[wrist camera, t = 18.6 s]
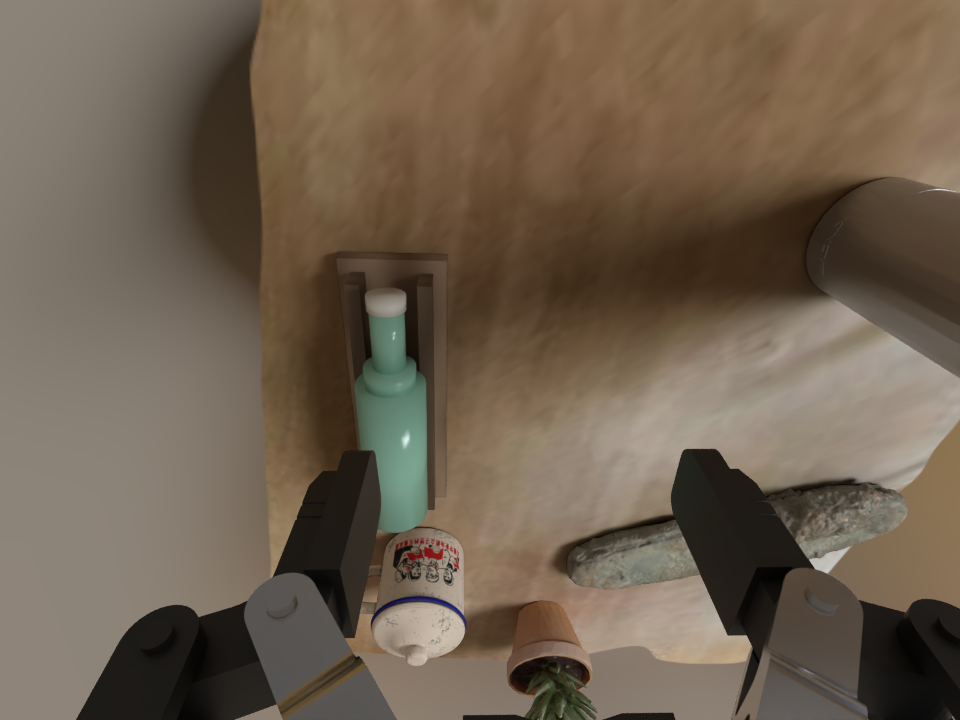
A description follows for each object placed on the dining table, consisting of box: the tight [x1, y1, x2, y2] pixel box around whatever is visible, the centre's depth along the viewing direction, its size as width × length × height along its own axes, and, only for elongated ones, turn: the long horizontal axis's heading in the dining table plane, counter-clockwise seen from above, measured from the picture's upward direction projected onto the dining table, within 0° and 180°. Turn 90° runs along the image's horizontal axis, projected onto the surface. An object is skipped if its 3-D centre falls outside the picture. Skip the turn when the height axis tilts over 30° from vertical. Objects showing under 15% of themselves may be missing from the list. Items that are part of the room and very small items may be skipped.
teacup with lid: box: [360, 528, 466, 666], centre depth 50 cm, size 12×9×12 cm
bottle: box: [354, 287, 428, 533], centre depth 38 cm, size 5×5×20 cm
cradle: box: [336, 252, 447, 510], centre depth 42 cm, size 8×24×4 cm, turn 178°
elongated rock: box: [567, 482, 908, 590], centre depth 53 cm, size 35×5×10 cm
